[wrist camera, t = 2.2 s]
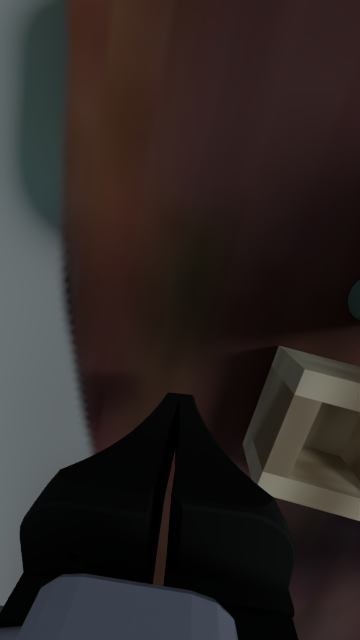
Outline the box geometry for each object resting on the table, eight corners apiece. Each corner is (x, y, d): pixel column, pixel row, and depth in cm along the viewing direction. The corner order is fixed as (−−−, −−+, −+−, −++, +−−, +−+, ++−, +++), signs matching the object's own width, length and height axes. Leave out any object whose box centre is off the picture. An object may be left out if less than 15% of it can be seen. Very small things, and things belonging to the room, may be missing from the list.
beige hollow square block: (398, 376, 14) (463, 410, 10) (348, 472, 15) (390, 529, 12) (279, 345, 14) (304, 369, 11) (242, 443, 16) (254, 491, 12)
